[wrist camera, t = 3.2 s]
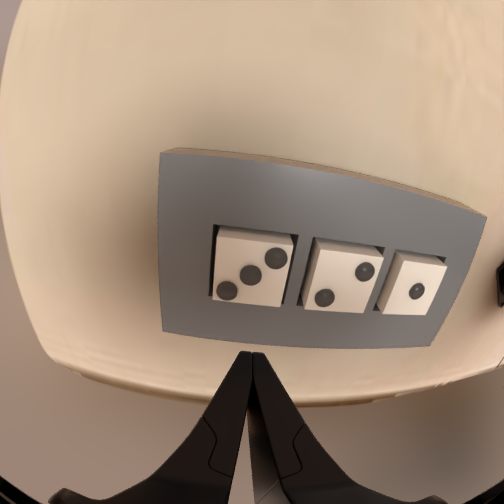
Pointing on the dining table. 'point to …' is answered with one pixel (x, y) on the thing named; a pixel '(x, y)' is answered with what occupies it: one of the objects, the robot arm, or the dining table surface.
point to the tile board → (299, 246)
